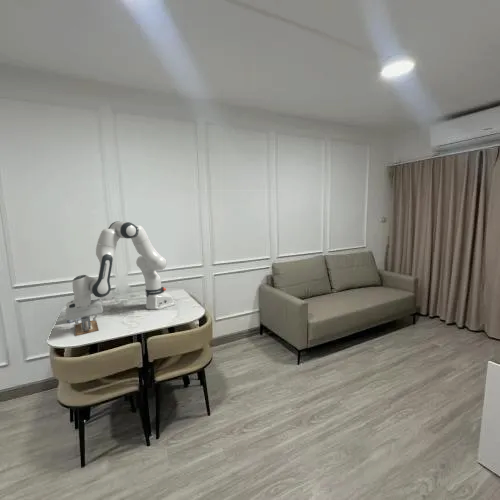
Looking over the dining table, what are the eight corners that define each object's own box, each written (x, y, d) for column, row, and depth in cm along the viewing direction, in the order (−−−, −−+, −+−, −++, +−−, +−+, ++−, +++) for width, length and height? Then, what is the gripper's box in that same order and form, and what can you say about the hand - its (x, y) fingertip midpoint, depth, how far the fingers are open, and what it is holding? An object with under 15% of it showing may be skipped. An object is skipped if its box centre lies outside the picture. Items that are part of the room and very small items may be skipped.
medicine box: (80, 318, 195) (78, 306, 194) (82, 319, 192) (80, 307, 191) (67, 321, 189) (65, 309, 188) (69, 323, 186) (67, 311, 185)
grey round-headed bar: (90, 322, 184) (89, 315, 183) (91, 328, 174) (90, 321, 173) (81, 324, 181) (80, 317, 181) (82, 330, 172) (81, 323, 171)
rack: (96, 320, 189) (94, 311, 188) (98, 330, 173) (97, 320, 172) (75, 325, 183) (73, 315, 182) (75, 336, 167) (74, 325, 166)
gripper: (101, 296, 182) (104, 317, 184) (63, 303, 171) (67, 325, 173) (102, 299, 177) (105, 320, 179) (63, 306, 166) (66, 328, 168)
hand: (86, 322), depth 176 cm, fingers open, 8 cm apart
